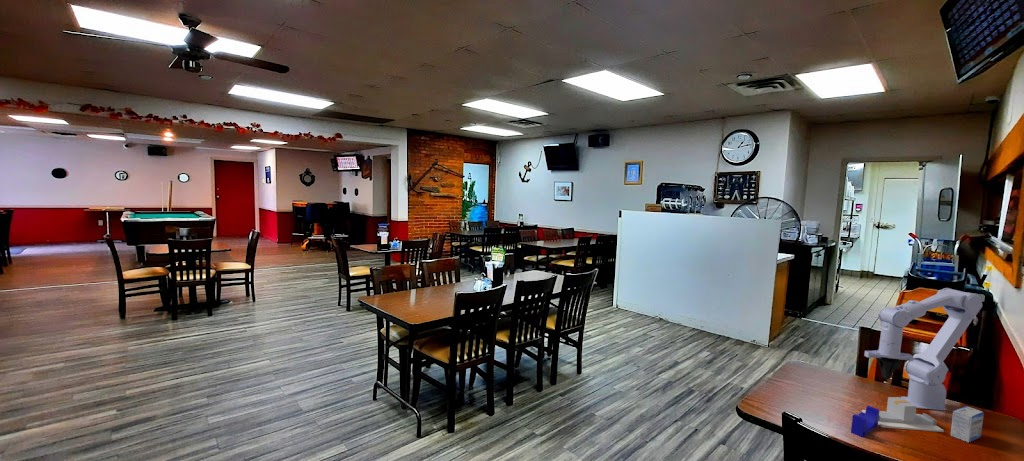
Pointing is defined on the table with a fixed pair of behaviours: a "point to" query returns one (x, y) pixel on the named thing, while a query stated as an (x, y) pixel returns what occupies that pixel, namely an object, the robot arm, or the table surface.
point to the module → (901, 408)
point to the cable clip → (865, 421)
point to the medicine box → (967, 424)
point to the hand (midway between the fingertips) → (885, 377)
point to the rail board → (908, 422)
